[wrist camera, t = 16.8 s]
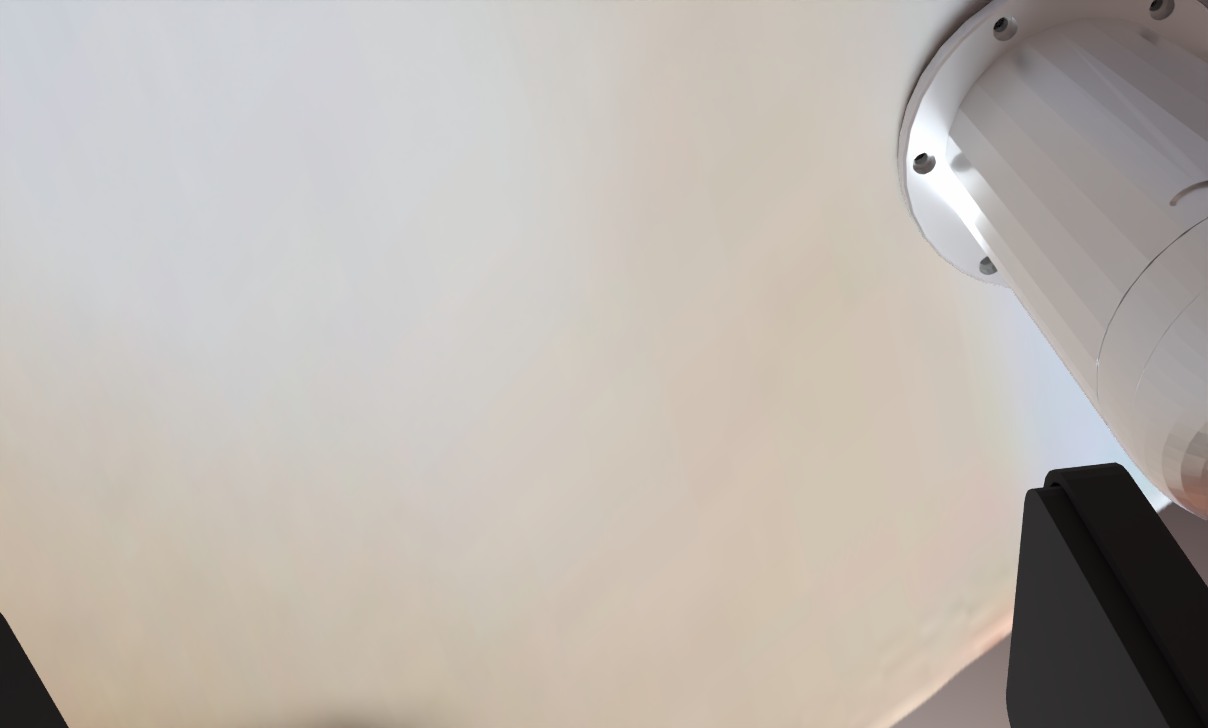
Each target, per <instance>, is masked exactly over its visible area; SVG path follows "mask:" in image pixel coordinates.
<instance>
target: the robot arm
mask: <svg viewBox="0 0 1208 728" xmlns="http://www.w3.org/2000/svg"><path fill="white" fill-rule="evenodd" d="M1153 1H1154V0H993V1H992V2H990V3H989V4H988V5H986V6H985V7H984V8H982V9H981V10H980V11H978V12H977V13H976V14H974V15H973V16H972V17H970V18H969V19H968V20H966V21H965V22H964V23H963V24H962V25H961V26H960V28H959V29H958V30H957V31H956V32H955V33H954V34H953V35H952V36H951V37H950V38H949V39H948V40H947V41H946V42H945V43H944V44H943V45H942V46H941V47H940V49H939V50H938V52H937V53H936V55H935V56H934V58H933V59H932V60H931V62H930V63H929V65H928V66H927V68H926V69H925V71H924V72H923V73H922V75H921V77H920V79H919V81H918V83H917V86H916V88H915V90H914V92H913V94H912V96H911V98H910V101H909V103H908V105H907V108H906V112H905V116H904V120H903V124H902V127H901V131H900V135H899V150H898V171H899V178H900V185H901V192H902V195H903V197H904V200H905V203H906V205H907V208H908V211H909V213H910V216H911V218H912V219H913V221H914V222H915V224H916V226H917V227H918V229H919V231H920V233H921V234H922V236H923V237H924V239H925V240H926V241H927V242H928V243H929V244H930V246H931V247H932V248H933V249H934V250H935V251H936V253H937V254H938V255H939V256H940V257H941V258H943V259H944V260H945V261H947V262H948V263H949V264H951V265H952V266H953V267H955V268H956V269H957V270H959V271H960V272H962V273H964V274H966V275H968V276H970V277H972V278H975V279H977V280H979V281H981V282H984V283H988V284H993V285H997V286H1001V287H1006V288H1010V289H1011V290H1012V291H1013V293H1014V294H1015V296H1016V297H1017V298H1018V300H1019V301H1020V303H1021V304H1022V306H1023V307H1024V308H1025V310H1026V311H1027V313H1028V314H1029V315H1030V317H1031V318H1032V320H1033V321H1034V323H1035V324H1036V325H1037V327H1038V328H1039V330H1040V331H1041V333H1042V334H1043V335H1044V337H1045V338H1046V340H1047V341H1048V343H1049V344H1050V345H1051V347H1052V348H1053V350H1054V351H1055V352H1056V354H1057V355H1058V357H1059V358H1060V360H1061V361H1062V362H1063V364H1064V365H1065V367H1066V368H1067V370H1068V371H1069V372H1070V374H1071V375H1072V377H1073V378H1074V379H1075V381H1076V382H1077V384H1078V385H1079V387H1080V388H1081V389H1082V391H1083V392H1084V394H1085V395H1086V397H1087V398H1088V399H1089V401H1090V402H1091V404H1092V405H1093V406H1094V408H1095V409H1096V411H1097V412H1098V414H1099V415H1100V416H1101V418H1102V419H1103V421H1104V422H1105V424H1106V425H1107V426H1108V428H1109V429H1110V431H1111V432H1112V434H1113V436H1114V437H1115V438H1116V440H1117V441H1118V443H1119V444H1120V445H1121V447H1122V448H1123V450H1124V451H1125V452H1126V454H1127V455H1128V457H1129V458H1130V459H1131V461H1132V462H1133V463H1134V464H1135V466H1136V467H1137V468H1138V469H1139V470H1140V471H1141V473H1142V474H1143V475H1144V476H1145V477H1146V478H1147V479H1148V481H1149V482H1150V483H1151V484H1153V485H1154V486H1155V487H1156V488H1157V489H1158V490H1159V491H1161V492H1162V493H1163V494H1164V495H1165V496H1167V497H1168V498H1169V499H1170V500H1172V501H1173V502H1175V503H1176V504H1178V505H1179V506H1181V507H1182V508H1184V509H1186V510H1188V511H1189V512H1191V513H1193V514H1195V515H1197V516H1199V517H1201V518H1203V519H1205V520H1207V521H1208V9H1207V8H1206V6H1204V5H1203V4H1202V3H1200V2H1199V1H1197V0H1157V2H1156V4H1155V5H1154V6H1153V7H1150V6H1151V4H1152V2H1153ZM1000 18H1004V22H1003V24H1002V25H1001V26H1000V27H999V28H996V29H994V25H995V23H996V22H997V21H998V20H999V19H1000ZM922 153H924V156H923V157H922V158H921V159H920V160H914V159H915V158H916V157H917V156H918V155H919V154H922ZM987 256H988V257H987ZM985 257H987V258H986V259H984V258H985ZM1006 704H1007V711H1008V717H1009V722H1010V725H1011V728H1208V587H1207V585H1206V584H1205V582H1204V581H1203V580H1202V578H1201V577H1200V575H1199V574H1198V572H1197V571H1196V570H1195V568H1194V567H1193V565H1192V564H1191V562H1190V561H1189V559H1188V558H1187V556H1186V555H1185V554H1184V552H1183V551H1182V549H1181V548H1180V546H1179V545H1178V544H1177V542H1176V541H1175V539H1174V538H1173V536H1172V535H1171V533H1170V532H1169V530H1168V529H1167V527H1166V526H1165V525H1164V523H1163V522H1162V520H1161V519H1160V517H1159V516H1158V514H1157V513H1156V511H1155V510H1154V508H1153V507H1152V506H1151V504H1150V503H1149V501H1148V500H1147V498H1146V497H1145V495H1144V494H1143V493H1142V491H1141V490H1140V488H1139V487H1138V485H1137V484H1136V482H1135V481H1134V479H1133V478H1132V477H1131V475H1130V474H1129V472H1128V471H1127V470H1126V469H1125V468H1124V467H1123V466H1122V465H1120V464H1118V463H1107V464H1098V465H1090V466H1081V467H1072V468H1064V469H1055V470H1052V471H1049V472H1048V474H1047V476H1046V478H1045V482H1044V487H1043V488H1035V489H1030V490H1028V492H1027V493H1026V497H1025V502H1024V512H1023V522H1022V533H1021V543H1020V554H1019V564H1018V574H1017V585H1016V595H1015V606H1014V616H1013V627H1012V637H1011V647H1010V659H1009V668H1008V679H1007V689H1006ZM0 728H69V727H68V726H67V724H66V722H65V721H64V719H63V717H62V715H61V714H60V712H59V710H58V708H57V707H56V705H55V703H54V702H53V700H52V698H51V696H50V695H49V693H48V691H47V690H46V688H45V686H44V684H43V683H42V681H41V679H40V678H39V676H38V674H37V672H36V671H35V669H34V667H33V666H32V664H31V662H30V660H29V659H28V657H27V655H26V653H25V652H24V650H23V648H22V647H21V645H20V643H19V641H18V640H17V638H16V636H15V635H14V633H13V631H12V629H11V628H10V626H9V624H8V623H7V621H6V619H5V618H4V616H3V615H2V614H1V613H0Z"/></svg>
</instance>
